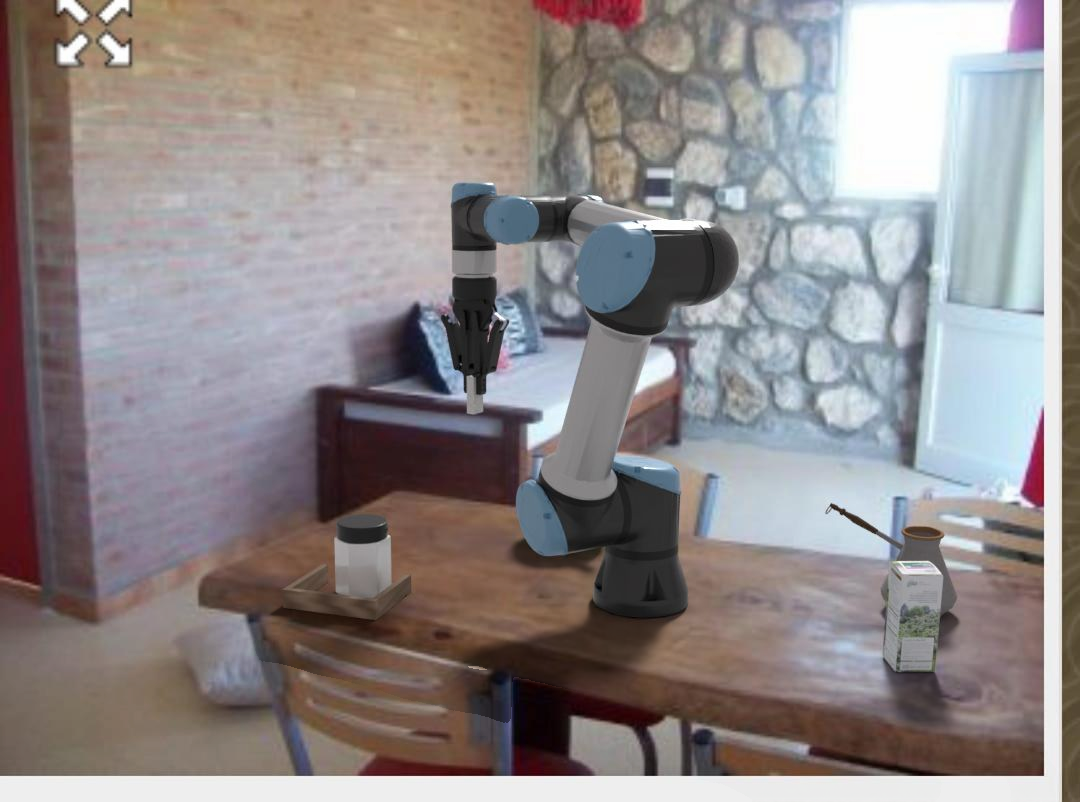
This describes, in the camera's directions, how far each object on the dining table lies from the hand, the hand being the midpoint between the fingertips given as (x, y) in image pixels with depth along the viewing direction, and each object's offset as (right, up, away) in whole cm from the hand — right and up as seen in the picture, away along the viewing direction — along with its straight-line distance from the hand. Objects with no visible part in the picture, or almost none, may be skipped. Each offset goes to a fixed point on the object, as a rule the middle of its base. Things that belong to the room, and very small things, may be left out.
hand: (475, 412), depth 204 cm
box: (-19, -30, -15) cm, 38 cm away
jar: (-17, -29, -11) cm, 36 cm away
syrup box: (+63, -35, -39) cm, 82 cm away
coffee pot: (+66, -31, -15) cm, 75 cm away
